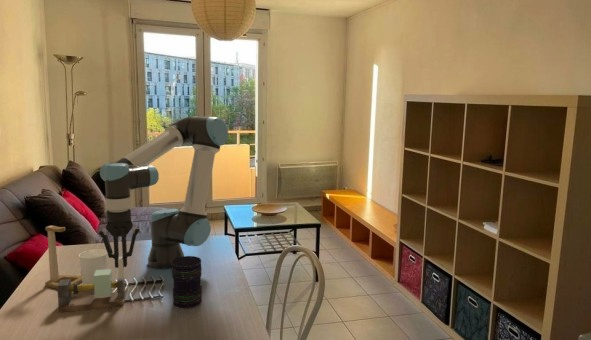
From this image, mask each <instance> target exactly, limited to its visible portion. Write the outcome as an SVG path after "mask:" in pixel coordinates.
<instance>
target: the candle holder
mask: <svg viewBox="0 0 591 340" xmlns="http://www.w3.org/2000/svg"><path fill="white" fill-rule="evenodd" d="M78 261H79V262H78V263H79V269H80V276H81V277H82V282H81V285H85V284H94V274H95V271H96V270H104V269H108V253H107V250H106V249H103V248H102V249H100V248H95V249H88V250H85V251H82V252H80V253H79V254H78Z"/></svg>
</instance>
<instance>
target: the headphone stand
mask: <svg viewBox="0 0 591 340" xmlns="http://www.w3.org/2000/svg"><path fill="white" fill-rule="evenodd" d="M45 231H46V232H47V242H48V243H47V244H48V245H47V246H48V262H49V263H48V264H49V280H46V281H45V284H44V285H45V287H47V288H52V289H56V290H57V286H58V284H59V282H60V280H66V279H71V286H74V283H78V284H79V285H80V284H82V277H81V275H67V274H66V275H64V274H63V275H62V274H61V275H59V273H60V272H59V265H58V254H57V253H58V252H57V242H56V233H63V232H65V231H66V227H65V226H57V225H47V226H45Z"/></svg>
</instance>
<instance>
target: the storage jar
mask: <svg viewBox="0 0 591 340" xmlns="http://www.w3.org/2000/svg"><path fill="white" fill-rule="evenodd" d="M172 265H173V266H172V268H171V273H172V275H171V276H172V280H173V281H172V282H173V287H172V300H173V306H174V307H175V308H178V309H182V310H183V309H188V310H189V309H193V308H196V307H198V306H199V305H201V304H202V301H203V299H202V297H203V290H202V282H201V281H202V280H201V279H202V278H201V277H202V269H203V267H202V259H201V257H199V256H195V255H194V256H193V255H184V257H179V258H176V259H174V260H173V261H172Z"/></svg>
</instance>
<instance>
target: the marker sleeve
mask: <svg viewBox="0 0 591 340" xmlns="http://www.w3.org/2000/svg"><path fill="white" fill-rule="evenodd" d="M112 270H113V269H112V268H107V269H104V270H96V271H95V274H94V290H93V291H94V294H95V297H98V296H107V295H111V293H112V292H113V289H114V288H111V282H113V271H112Z"/></svg>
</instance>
